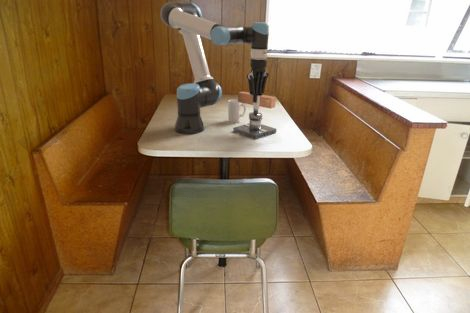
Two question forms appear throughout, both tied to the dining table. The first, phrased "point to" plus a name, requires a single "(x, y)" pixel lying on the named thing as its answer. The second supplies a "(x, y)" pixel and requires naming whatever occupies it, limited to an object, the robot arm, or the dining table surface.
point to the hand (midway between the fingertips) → (256, 108)
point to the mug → (234, 110)
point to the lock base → (256, 132)
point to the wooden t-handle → (264, 102)
